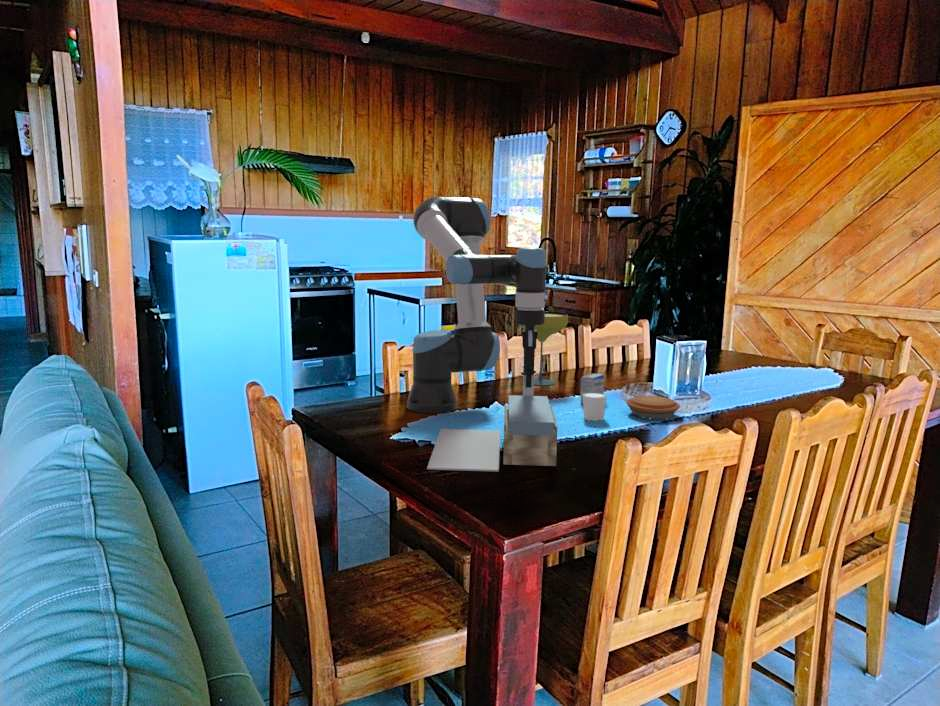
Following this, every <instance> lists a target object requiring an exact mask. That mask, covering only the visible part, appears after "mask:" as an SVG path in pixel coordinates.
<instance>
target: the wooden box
mask: <svg viewBox="0 0 940 706" xmlns="http://www.w3.org/2000/svg"><path fill="white" fill-rule="evenodd" d="M503 408H504V411H503V412H504V413H503V415H504V417H503V457H502V458H503V465H510V466H511V465H514V466H542V467H543V466H544V467H547V466H549V467H557V454H558V453H557V450H558V448H557V447H558V444H557V443H558V424H557V421H556V417H555V412H554V409H553V405H550V409H551V413H552V416H553V420H554V436H547V435H510V434H509V427H508V408H507V404H504V407H503Z"/></svg>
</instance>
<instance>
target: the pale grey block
mask: <svg viewBox="0 0 940 706" xmlns="http://www.w3.org/2000/svg"><path fill="white" fill-rule="evenodd" d="M507 400H508V404H507V405H508V406H507V409H508V427H509V434H510V435H547V436H554V420H553V416H552V413H551V409H550V406H551V405H550V402H549V398H548V396H547V395H533V396H523V395H513V394H512V395H511V394H510V395H508V399H507Z"/></svg>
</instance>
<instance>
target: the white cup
mask: <svg viewBox="0 0 940 706" xmlns="http://www.w3.org/2000/svg"><path fill="white" fill-rule="evenodd" d="M607 399H608V396H607V395H606V394H605V393H604V394H601V393H585V394H583V403H582V404H583V407H582V409H583V419H584V420H587V421H590V420H593V421H592V422H599V421H598V420H601V421H604V419H605V414H606V413H605V412H606V406H607V405H606V404H607Z"/></svg>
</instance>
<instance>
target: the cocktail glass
mask: <svg viewBox="0 0 940 706" xmlns="http://www.w3.org/2000/svg"><path fill="white" fill-rule="evenodd" d="M568 324H569V316H568V314H567V313H563V312H555V311H554V312H553V311H545V322H544V324H542V325H535V331H537V332H538V336H537V339H536V340H537V341H538V342H539V343H540V360H539V361H540V363H539V372H538V373H539V374H538V377H537V378H534V386H535V385H536V386H537V387H548V386H554V385H556V381H555V380H551V379H545V378H544V376H543V344H544V342H546V341H547V339H548V338H549V337H550V336H552V335H554V334H556V333H558V332H561V331H562V330H564V329H565V328H566V327H567V325H568ZM517 325H518V326H519V327H520V328H521V329H523V331H525V325H519V324H517Z"/></svg>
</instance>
